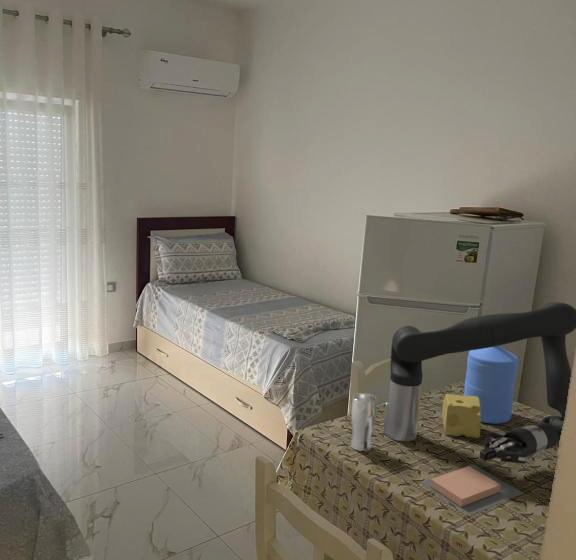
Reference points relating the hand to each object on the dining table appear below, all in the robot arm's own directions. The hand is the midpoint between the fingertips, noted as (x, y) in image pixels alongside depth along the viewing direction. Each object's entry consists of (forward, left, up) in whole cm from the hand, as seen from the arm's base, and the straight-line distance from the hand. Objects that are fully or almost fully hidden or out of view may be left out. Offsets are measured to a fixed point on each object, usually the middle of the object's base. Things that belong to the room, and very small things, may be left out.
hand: (482, 456), depth 144 cm
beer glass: (-33, -2, -9) cm, 35 cm away
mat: (-1, -3, -9) cm, 9 cm away
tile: (+1, +2, -7) cm, 7 cm away
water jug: (-14, +47, -9) cm, 50 cm away
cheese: (-16, +29, -9) cm, 34 cm away
